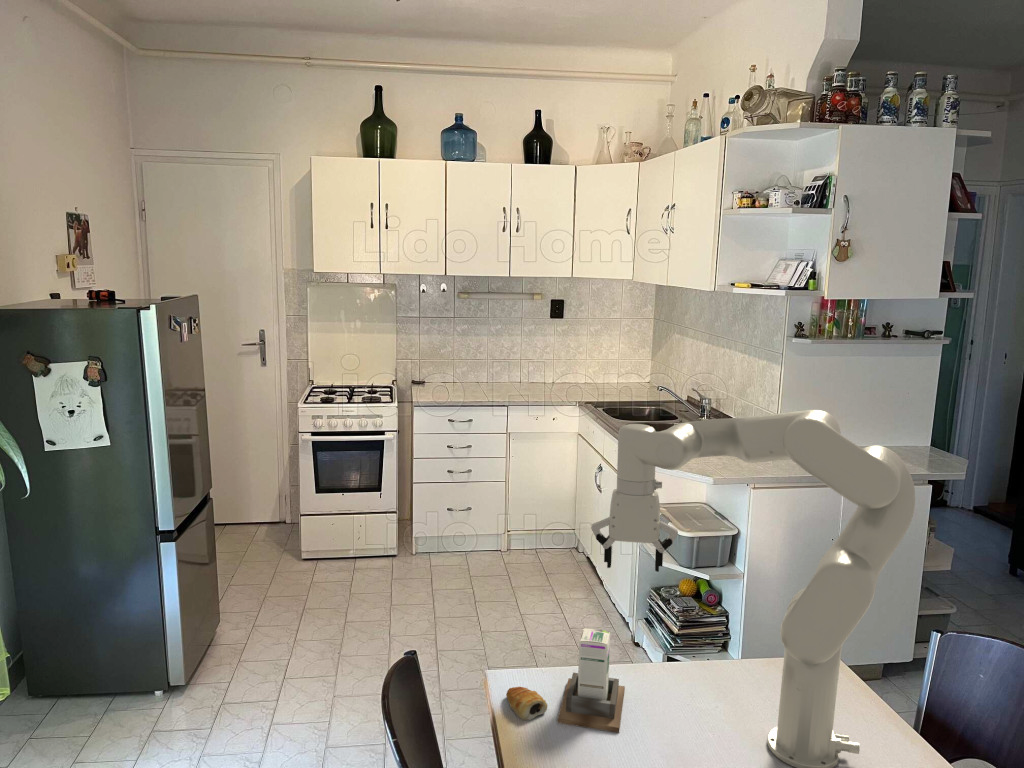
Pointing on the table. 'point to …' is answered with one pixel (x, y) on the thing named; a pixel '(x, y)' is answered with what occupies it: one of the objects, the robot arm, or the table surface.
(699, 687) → the table surface
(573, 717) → the socket stand
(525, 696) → the pastry
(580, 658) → the syrup box
